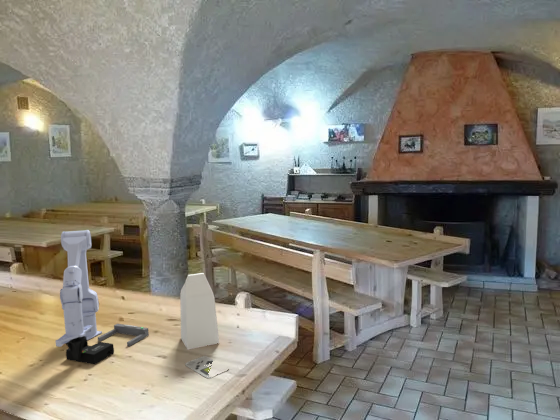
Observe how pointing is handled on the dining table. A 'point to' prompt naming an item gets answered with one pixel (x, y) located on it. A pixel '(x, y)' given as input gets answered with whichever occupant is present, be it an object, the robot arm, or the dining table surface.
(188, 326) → the milk
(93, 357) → the battery charger
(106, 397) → the dining table surface
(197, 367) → the handheld gaming device
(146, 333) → the grey u-shaped bracket
